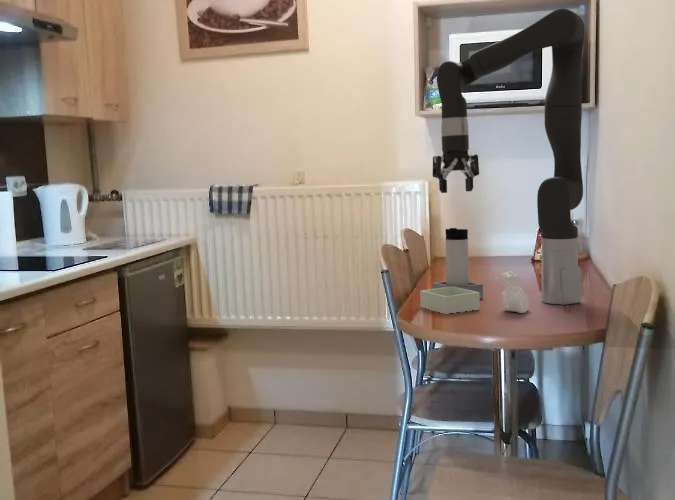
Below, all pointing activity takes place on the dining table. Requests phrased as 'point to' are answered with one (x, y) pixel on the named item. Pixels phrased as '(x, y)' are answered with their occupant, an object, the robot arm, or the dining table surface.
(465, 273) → the travel mug
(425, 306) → the tray
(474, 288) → the sleeve
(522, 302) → the bust
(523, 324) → the dining table surface
